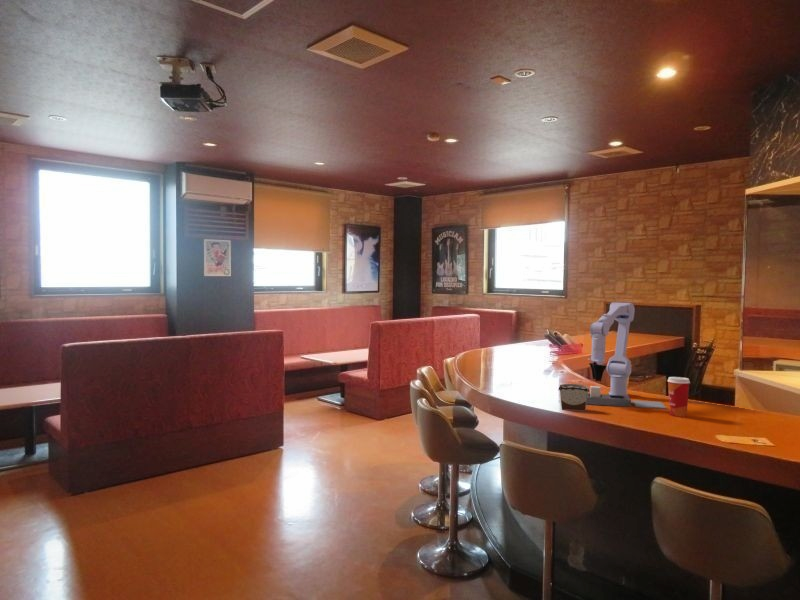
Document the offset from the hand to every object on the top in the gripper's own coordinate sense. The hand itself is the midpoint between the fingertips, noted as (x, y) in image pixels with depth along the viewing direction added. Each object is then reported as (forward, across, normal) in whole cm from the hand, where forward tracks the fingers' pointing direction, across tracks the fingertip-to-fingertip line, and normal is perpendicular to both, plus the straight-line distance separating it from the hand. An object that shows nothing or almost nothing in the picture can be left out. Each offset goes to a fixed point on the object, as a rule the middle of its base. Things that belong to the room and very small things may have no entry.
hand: (596, 380), depth 239 cm
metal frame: (+10, -1, +4) cm, 11 cm away
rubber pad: (+9, 0, +22) cm, 24 cm away
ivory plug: (+10, -1, 0) cm, 10 cm away
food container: (+12, +14, -11) cm, 21 cm away
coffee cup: (+10, +17, +29) cm, 35 cm away
